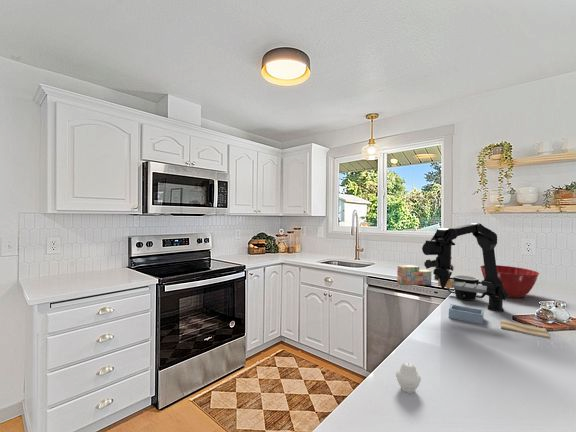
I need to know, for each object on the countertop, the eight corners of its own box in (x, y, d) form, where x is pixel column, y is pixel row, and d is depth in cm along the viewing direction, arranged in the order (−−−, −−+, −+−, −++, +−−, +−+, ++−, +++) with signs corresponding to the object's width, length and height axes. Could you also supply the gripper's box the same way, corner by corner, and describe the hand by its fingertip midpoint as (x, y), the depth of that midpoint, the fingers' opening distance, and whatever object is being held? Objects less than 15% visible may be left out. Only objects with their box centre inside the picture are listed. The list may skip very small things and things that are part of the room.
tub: (451, 312, 143) (451, 304, 143) (483, 318, 135) (483, 309, 135) (448, 317, 136) (448, 308, 135) (482, 324, 128) (483, 315, 128)
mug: (473, 295, 176) (473, 275, 175) (488, 303, 160) (489, 281, 160) (444, 293, 177) (444, 273, 177) (456, 301, 161) (457, 279, 161)
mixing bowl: (552, 302, 165) (553, 274, 165) (499, 300, 165) (500, 273, 165) (514, 289, 193) (515, 265, 193) (469, 288, 194) (470, 264, 193)
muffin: (414, 383, 82) (414, 357, 82) (425, 396, 76) (425, 369, 76) (391, 382, 82) (392, 357, 81) (400, 396, 75) (401, 369, 75)
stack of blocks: (425, 283, 206) (426, 265, 206) (431, 285, 200) (431, 266, 199) (396, 283, 202) (397, 265, 202) (401, 285, 196) (402, 266, 196)
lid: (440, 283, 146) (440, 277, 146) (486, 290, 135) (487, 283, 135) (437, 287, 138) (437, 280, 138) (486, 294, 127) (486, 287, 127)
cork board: (500, 321, 133) (501, 319, 133) (545, 329, 124) (545, 328, 124) (501, 328, 124) (501, 327, 124) (549, 338, 115) (549, 336, 115)
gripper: (429, 251, 153) (428, 281, 153) (421, 255, 138) (421, 288, 138) (454, 253, 147) (453, 284, 147) (449, 257, 131) (448, 292, 132)
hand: (443, 287), depth 141 cm, fingers closed on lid, 3 cm apart
